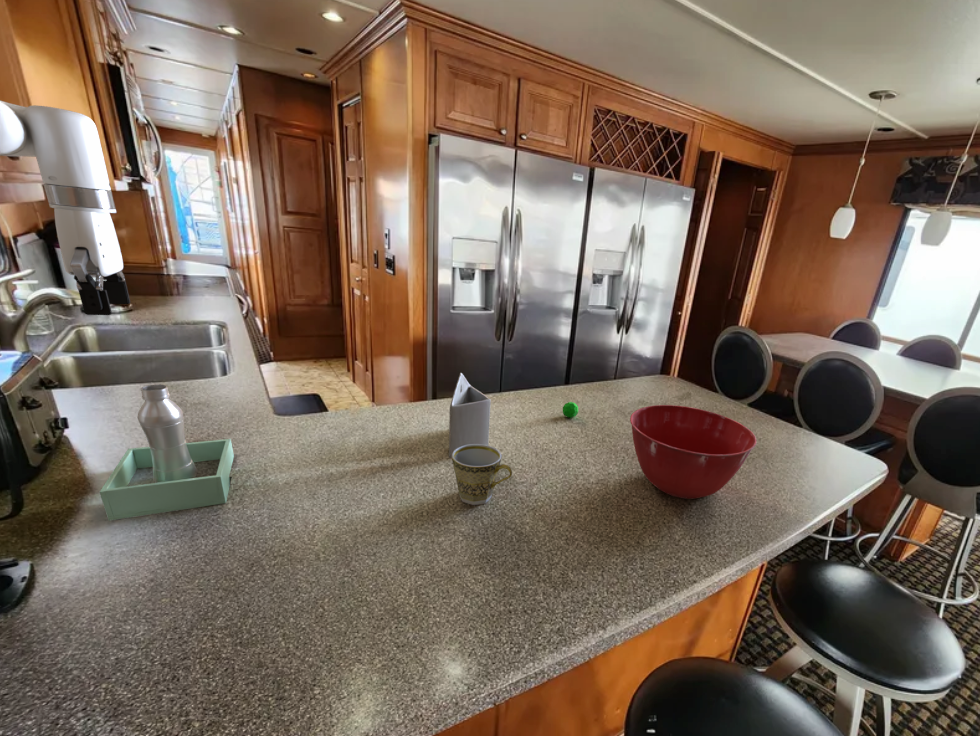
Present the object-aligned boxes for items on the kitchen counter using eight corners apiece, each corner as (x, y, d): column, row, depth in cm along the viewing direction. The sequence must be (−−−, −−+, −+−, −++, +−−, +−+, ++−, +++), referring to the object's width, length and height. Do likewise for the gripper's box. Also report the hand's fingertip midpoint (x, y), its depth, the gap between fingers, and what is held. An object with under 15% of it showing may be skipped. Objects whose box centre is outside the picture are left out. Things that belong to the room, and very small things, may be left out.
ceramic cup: (441, 501, 94) (442, 458, 90) (466, 479, 103) (468, 439, 99) (498, 519, 90) (501, 475, 86) (519, 495, 99) (522, 454, 95)
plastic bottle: (165, 498, 84) (139, 396, 77) (149, 485, 88) (123, 386, 80) (205, 484, 90) (184, 388, 82) (189, 472, 93) (167, 379, 85)
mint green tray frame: (108, 520, 78) (99, 491, 76) (135, 474, 92) (128, 448, 90) (226, 503, 86) (220, 476, 84) (235, 462, 100) (230, 438, 97)
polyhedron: (562, 413, 146) (564, 399, 144) (578, 415, 146) (579, 401, 144) (560, 418, 142) (562, 404, 140) (576, 421, 141) (578, 406, 139)
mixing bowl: (597, 477, 110) (606, 418, 104) (659, 446, 130) (669, 396, 124) (705, 535, 93) (723, 468, 87) (757, 489, 113) (775, 432, 107)
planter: (480, 462, 111) (483, 387, 104) (448, 458, 111) (449, 382, 104) (495, 435, 126) (498, 367, 119) (466, 431, 126) (468, 363, 119)
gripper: (72, 197, 78) (98, 299, 84) (20, 196, 64) (57, 319, 70) (129, 203, 81) (151, 301, 87) (93, 203, 67) (121, 319, 73)
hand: (109, 309), depth 79 cm, fingers open, 9 cm apart
